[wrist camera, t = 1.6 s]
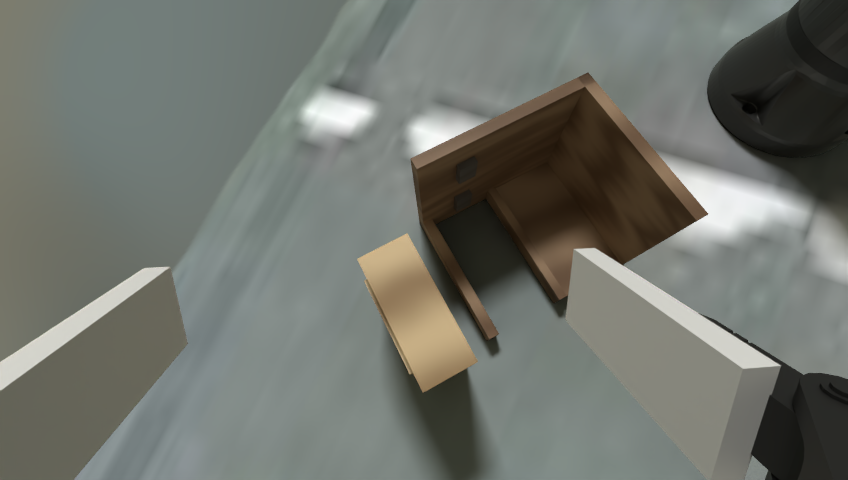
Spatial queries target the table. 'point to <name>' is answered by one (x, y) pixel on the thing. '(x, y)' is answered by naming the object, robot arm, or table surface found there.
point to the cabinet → (554, 186)
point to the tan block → (415, 313)
